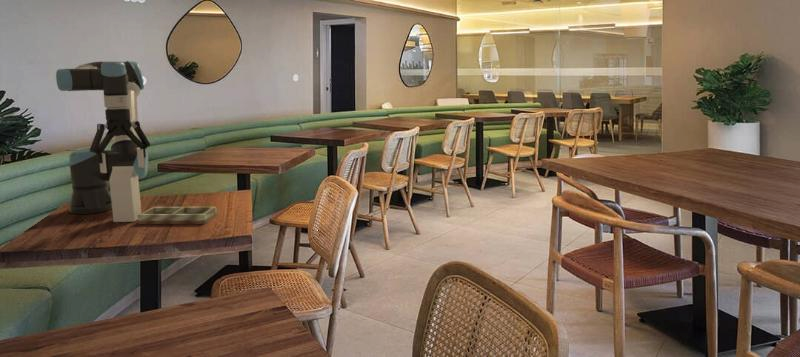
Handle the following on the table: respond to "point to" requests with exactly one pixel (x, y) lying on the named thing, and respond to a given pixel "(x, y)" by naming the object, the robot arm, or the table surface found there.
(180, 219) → the board
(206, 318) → the table surface
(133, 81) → the robot arm
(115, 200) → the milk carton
